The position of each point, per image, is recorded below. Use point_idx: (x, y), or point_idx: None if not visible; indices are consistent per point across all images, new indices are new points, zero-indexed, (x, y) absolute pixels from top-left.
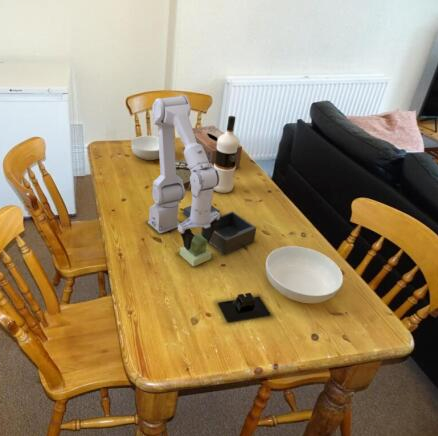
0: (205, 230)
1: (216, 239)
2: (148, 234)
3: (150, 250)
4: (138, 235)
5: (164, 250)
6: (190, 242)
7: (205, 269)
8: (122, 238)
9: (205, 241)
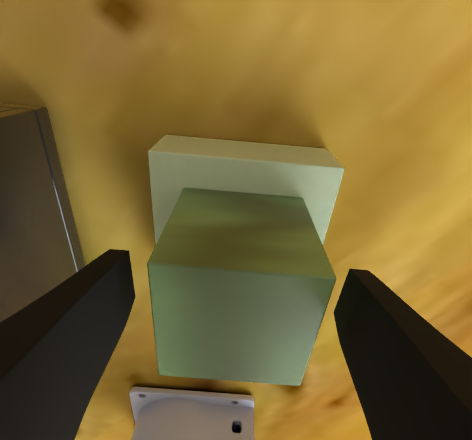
0: (79, 389)
1: (16, 237)
2: (294, 408)
3: None
4: (329, 419)
5: (329, 326)
6: (435, 350)
7: (283, 66)
8: None
9: (182, 263)
